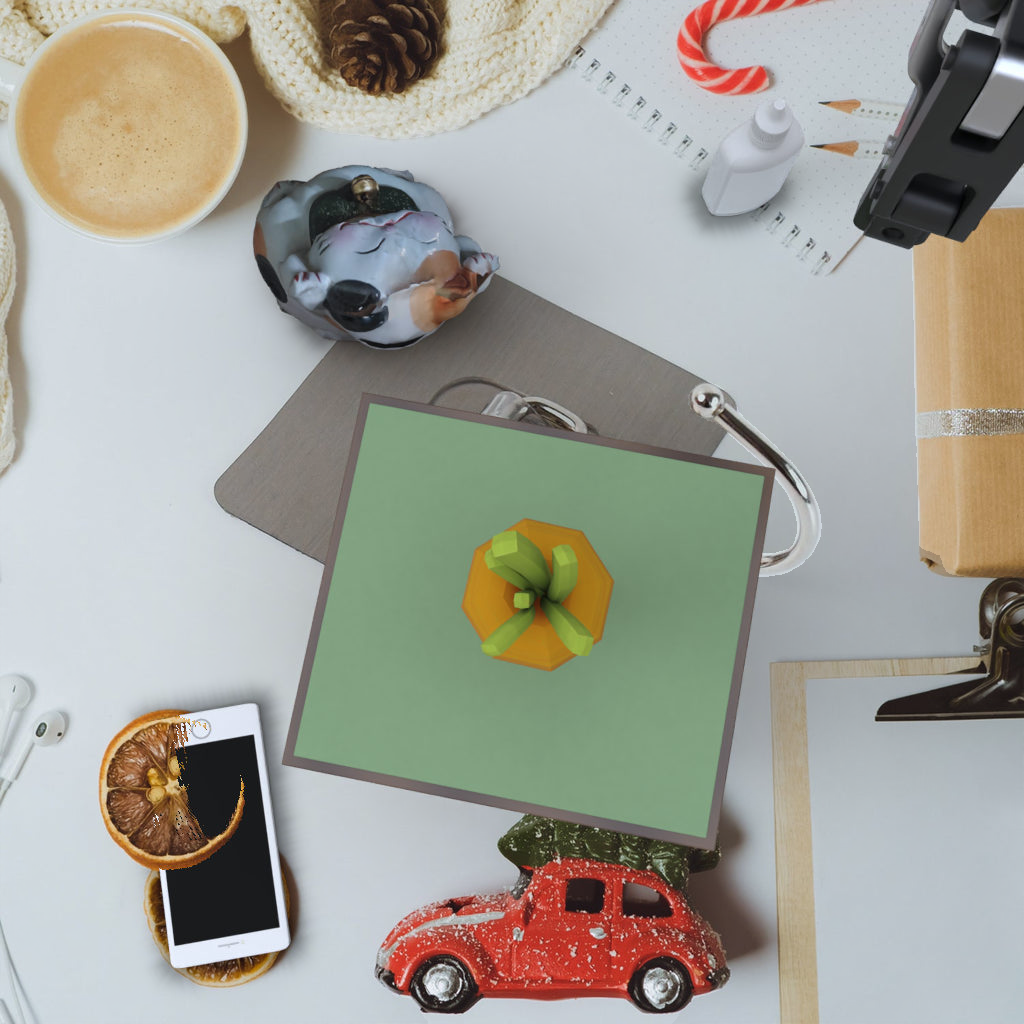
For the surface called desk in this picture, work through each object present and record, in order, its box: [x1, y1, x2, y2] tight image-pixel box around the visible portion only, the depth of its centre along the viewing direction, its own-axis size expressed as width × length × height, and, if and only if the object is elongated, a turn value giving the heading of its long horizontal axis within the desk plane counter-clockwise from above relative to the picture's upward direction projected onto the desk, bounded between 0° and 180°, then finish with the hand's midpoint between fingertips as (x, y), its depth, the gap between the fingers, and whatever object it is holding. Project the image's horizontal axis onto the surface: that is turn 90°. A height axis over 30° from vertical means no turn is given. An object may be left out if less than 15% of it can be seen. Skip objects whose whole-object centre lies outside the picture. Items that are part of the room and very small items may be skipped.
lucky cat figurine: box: [252, 164, 501, 351], centre depth 69 cm, size 15×12×14 cm
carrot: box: [461, 518, 614, 672], centre depth 36 cm, size 5×5×15 cm
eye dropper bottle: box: [701, 98, 805, 217], centre depth 69 cm, size 4×6×12 cm
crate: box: [281, 391, 777, 852], centre depth 57 cm, size 18×16×28 cm
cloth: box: [294, 403, 764, 838], centre depth 43 cm, size 17×15×1 cm
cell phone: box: [152, 702, 292, 969], centre depth 69 cm, size 8×16×1 cm, turn 10°
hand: (926, 111), depth 33 cm, fingers open, 8 cm apart
